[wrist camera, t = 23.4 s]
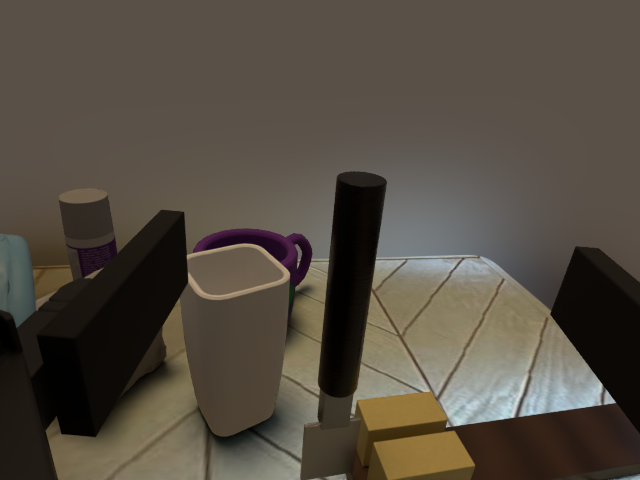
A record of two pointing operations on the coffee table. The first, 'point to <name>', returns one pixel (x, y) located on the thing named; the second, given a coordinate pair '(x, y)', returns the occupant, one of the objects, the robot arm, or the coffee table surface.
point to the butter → (409, 440)
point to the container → (87, 230)
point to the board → (549, 446)
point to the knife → (344, 324)
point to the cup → (235, 333)
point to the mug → (273, 244)
